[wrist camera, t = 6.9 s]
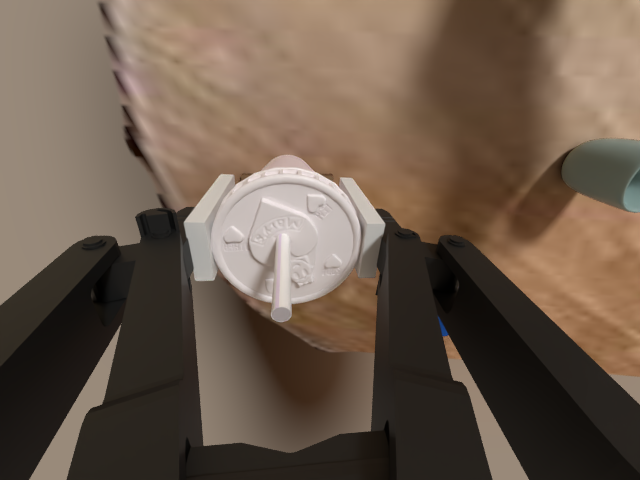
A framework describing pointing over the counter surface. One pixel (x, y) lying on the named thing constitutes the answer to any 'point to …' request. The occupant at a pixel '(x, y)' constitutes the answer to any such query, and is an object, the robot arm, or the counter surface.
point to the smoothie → (286, 235)
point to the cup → (606, 172)
